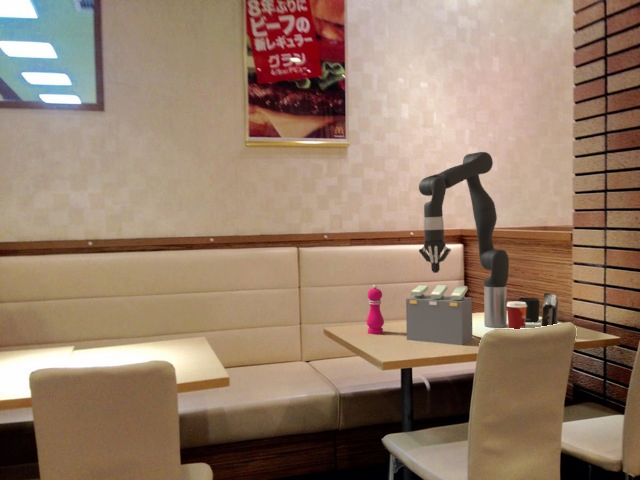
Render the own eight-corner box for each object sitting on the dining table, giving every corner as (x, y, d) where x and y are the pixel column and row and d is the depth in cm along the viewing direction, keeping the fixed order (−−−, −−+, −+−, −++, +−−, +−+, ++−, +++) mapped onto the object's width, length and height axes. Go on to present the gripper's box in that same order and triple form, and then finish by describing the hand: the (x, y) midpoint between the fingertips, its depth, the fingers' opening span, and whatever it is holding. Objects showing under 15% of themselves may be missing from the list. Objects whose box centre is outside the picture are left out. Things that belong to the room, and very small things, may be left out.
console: (419, 333, 236) (418, 292, 236) (472, 338, 225) (472, 294, 224) (406, 339, 225) (405, 296, 224) (461, 345, 214) (461, 299, 213)
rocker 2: (438, 288, 229) (437, 284, 229) (447, 288, 227) (447, 284, 227) (430, 298, 222) (430, 294, 221) (440, 298, 220) (439, 294, 219)
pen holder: (512, 320, 262) (512, 298, 262) (528, 318, 266) (528, 297, 266) (528, 323, 254) (528, 301, 253) (544, 321, 258) (544, 299, 257)
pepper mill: (386, 331, 242) (385, 284, 241) (380, 334, 235) (380, 286, 235) (370, 330, 245) (369, 283, 244) (364, 333, 238) (363, 285, 238)
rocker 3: (458, 289, 225) (457, 285, 224) (467, 289, 223) (467, 285, 222) (450, 299, 218) (450, 295, 217) (460, 300, 216) (460, 295, 215)
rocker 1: (419, 289, 233) (419, 285, 233) (428, 289, 231) (428, 285, 231) (410, 295, 226) (410, 291, 226) (420, 296, 224) (419, 291, 224)
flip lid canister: (528, 340, 219) (528, 304, 219) (507, 340, 221) (507, 303, 220) (525, 336, 227) (525, 301, 226) (505, 336, 228) (505, 300, 228)
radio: (554, 339, 221) (554, 300, 220) (531, 337, 225) (530, 299, 225) (564, 329, 241) (564, 293, 240) (542, 327, 245) (542, 292, 245)
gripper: (453, 227, 226) (455, 271, 227) (421, 228, 233) (423, 271, 234) (446, 228, 219) (448, 274, 220) (414, 229, 226) (416, 273, 227)
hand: (435, 272), depth 227 cm, fingers closed
